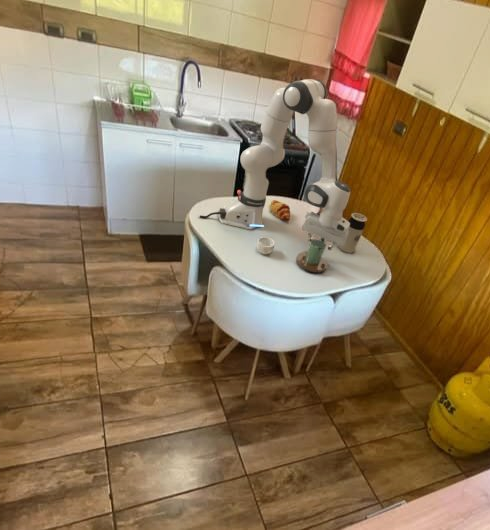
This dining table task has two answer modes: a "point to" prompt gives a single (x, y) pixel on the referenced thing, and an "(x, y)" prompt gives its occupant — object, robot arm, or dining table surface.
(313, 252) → the green mug on saucer
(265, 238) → the teacup
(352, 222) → the travel mug
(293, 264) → the dining table surface
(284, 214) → the croissant
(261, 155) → the robot arm
